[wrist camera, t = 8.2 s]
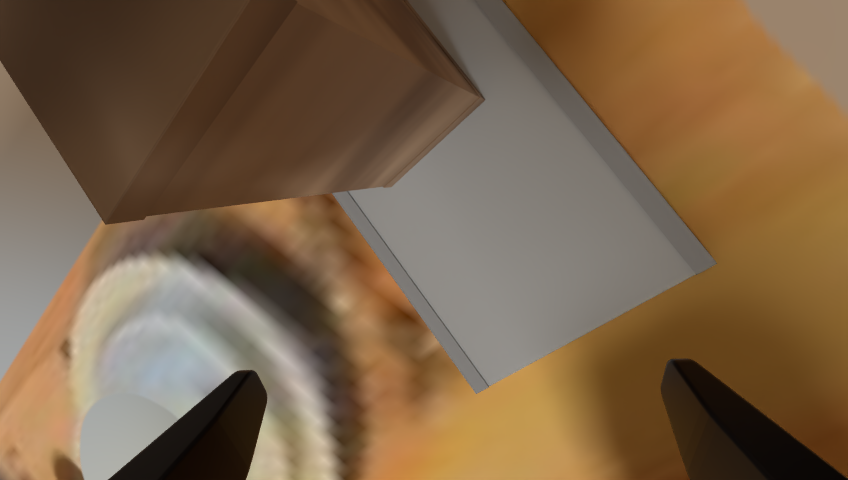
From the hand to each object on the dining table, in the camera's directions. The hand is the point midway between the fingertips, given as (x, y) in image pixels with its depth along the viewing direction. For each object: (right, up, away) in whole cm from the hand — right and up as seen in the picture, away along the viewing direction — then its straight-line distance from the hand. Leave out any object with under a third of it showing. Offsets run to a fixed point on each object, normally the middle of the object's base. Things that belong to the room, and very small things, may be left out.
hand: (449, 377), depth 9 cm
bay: (+1, +6, +10) cm, 12 cm away
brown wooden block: (-2, +10, +10) cm, 14 cm away
